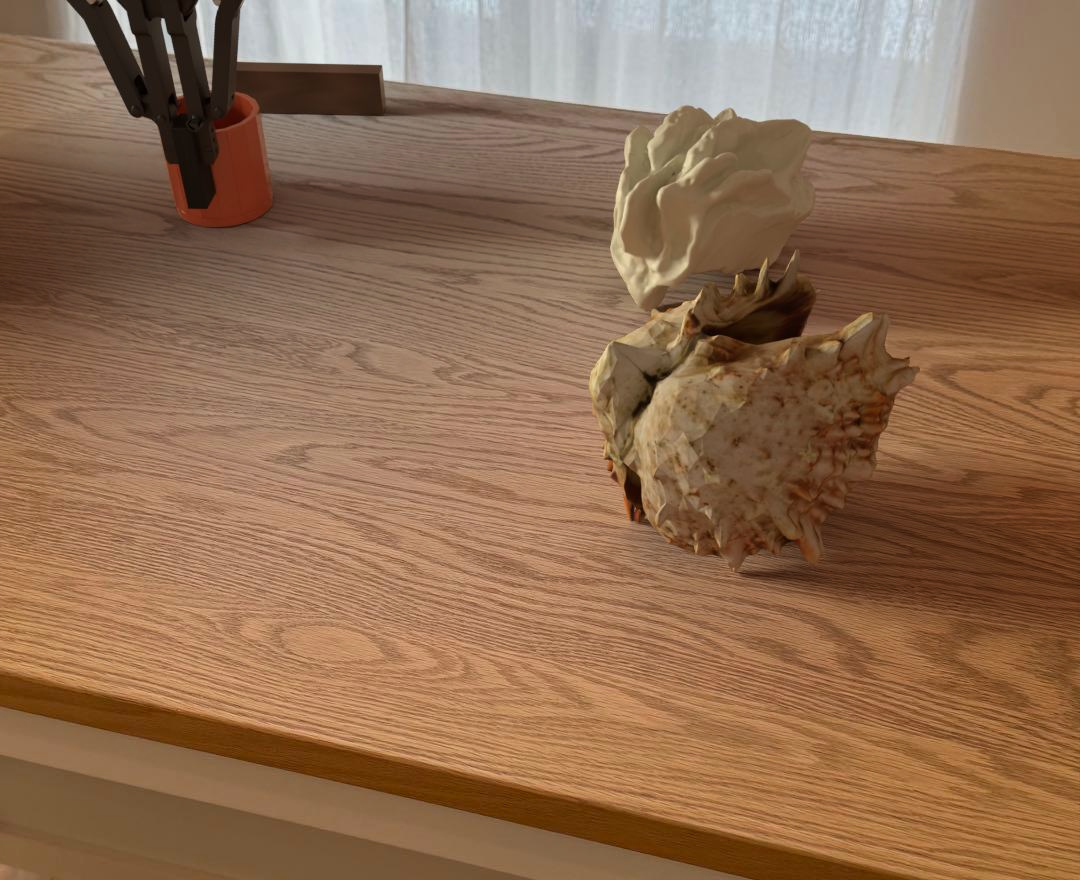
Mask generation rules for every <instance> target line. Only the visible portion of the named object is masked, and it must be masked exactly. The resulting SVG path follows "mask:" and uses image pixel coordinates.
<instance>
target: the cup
mask: <svg viewBox="0 0 1080 880" xmlns="http://www.w3.org/2000/svg"><path fill="white" fill-rule="evenodd" d="M209 90H210V95H211V91H212V89H209ZM177 101H178V103H179V102H180V101H181V106H180V108H179V109H178V111H177V112H178V116H179V115H180V113H187V110H186V105H185V101H184V96H183V95H179V96H177ZM262 120H263V119H262V113H260V108H259V106H258V104H257V102H256V100H255V99H253V98H251V97H250V96H248V95H246V94H244V93H239V92H235V101H234V103H233V105H232V107H231V109H230V110H229V112H228V114H227V116H226V117H225V118H224V119H215V120H214V126H215V131H216V136H217V141H218V146H219V154H218V157H217V159H216V161H215V163H214V165H211V170H212V175H213V180H214V185H215V190H216V194H215V196H214V197H213V199H212V201H211V203H210V205H209V207H208V209H188V205H187V201H186V196H185V192H184V187H183V183H182V178H181V174H180V169H179V165H178V164H169V163H168V162H167V160H166V158H165V155H164V150H163V145H162V142H161V138H160V133H159V129H158V126H157V125H156V127H157V132H158V135H159V140H160V145H161V149H162V154H163V158H164V162H165V167H166V171H167V177H168V180H169V186H170V190H171V194H172V199H173V201H174V204H175V205H174V206H175V210H176V213H177V215H178V216H179V217H180V218H181V219H182V220H183V221H185V222H187V223H189V224H192V225H195V226H198V227H199V226H200V227H205V228H226V227H235V226H239V225H242V224H246V223H250V222H252V221H254V220H256V219H258V218H260V217H262V216H263V215H265V214H266V213H267V212H268V211H269V210H270V209H271V208H272V206H273V204H274V193H273V191H274V189H273V188H274V187H273V183H272V176H271V170H270V169H271V168H270V165H269V158H268V157H269V156H268V151H267V145H266V138H265V132H264V126H263V121H262Z"/></svg>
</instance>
